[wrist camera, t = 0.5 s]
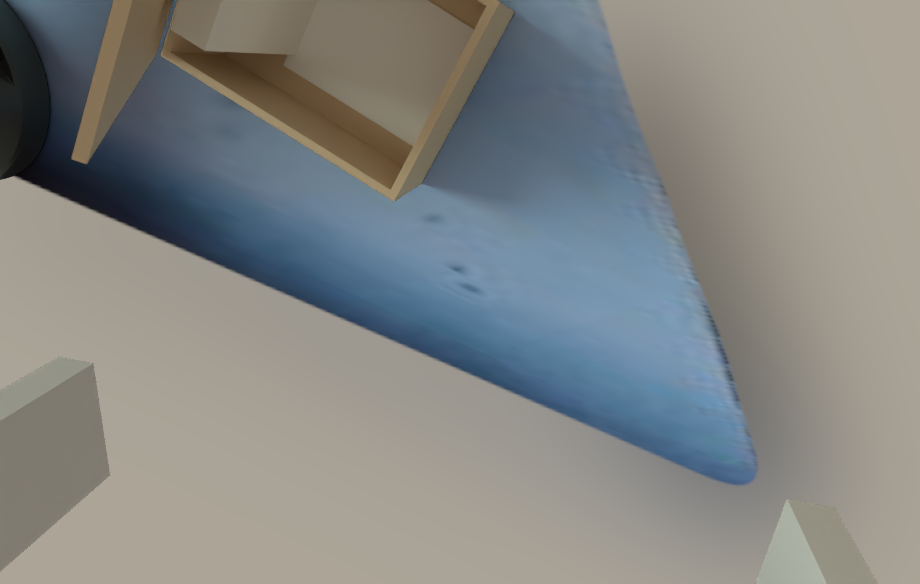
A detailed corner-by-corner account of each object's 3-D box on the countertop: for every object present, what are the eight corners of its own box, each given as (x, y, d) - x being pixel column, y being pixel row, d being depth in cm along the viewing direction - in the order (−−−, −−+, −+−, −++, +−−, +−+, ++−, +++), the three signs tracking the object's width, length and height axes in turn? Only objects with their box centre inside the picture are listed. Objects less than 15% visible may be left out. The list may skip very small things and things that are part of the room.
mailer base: (219, 57, 41) (103, 53, 31) (286, -132, 36) (172, -205, 26) (421, 183, 41) (367, 218, 31) (515, 12, 36) (484, -9, 26)
